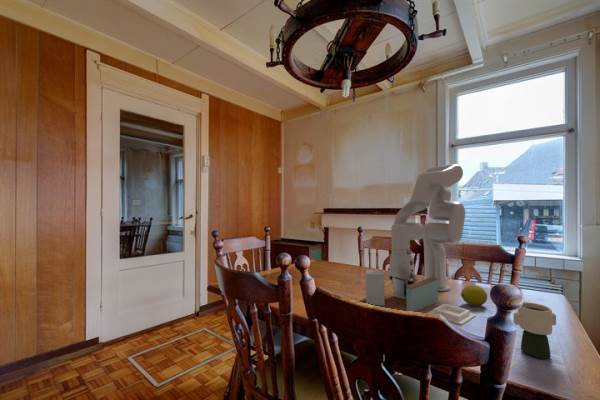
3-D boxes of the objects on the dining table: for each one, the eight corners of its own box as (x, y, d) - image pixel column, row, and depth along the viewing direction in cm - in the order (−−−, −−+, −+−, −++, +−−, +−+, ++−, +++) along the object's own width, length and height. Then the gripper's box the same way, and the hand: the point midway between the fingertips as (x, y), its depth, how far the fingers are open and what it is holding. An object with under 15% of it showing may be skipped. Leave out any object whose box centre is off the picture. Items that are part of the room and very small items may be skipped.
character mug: (545, 347, 78) (544, 302, 78) (568, 362, 71) (567, 311, 71) (505, 346, 79) (504, 301, 79) (524, 361, 72) (523, 311, 72)
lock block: (400, 293, 124) (399, 276, 124) (410, 296, 120) (410, 278, 120) (393, 296, 121) (393, 278, 121) (403, 299, 117) (403, 280, 117)
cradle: (442, 306, 110) (442, 301, 110) (476, 316, 100) (476, 310, 100) (427, 314, 102) (427, 308, 102) (461, 325, 93) (461, 319, 93)
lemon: (479, 301, 115) (479, 282, 115) (493, 308, 107) (493, 288, 107) (454, 302, 114) (454, 283, 114) (467, 309, 106) (466, 288, 107)
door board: (432, 300, 117) (432, 277, 117) (438, 301, 115) (437, 278, 115) (406, 311, 105) (406, 286, 105) (411, 313, 103) (411, 287, 103)
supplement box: (385, 305, 111) (384, 274, 111) (366, 304, 112) (365, 273, 113) (383, 299, 118) (382, 270, 118) (365, 298, 120) (365, 269, 120)
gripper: (424, 253, 116) (425, 296, 116) (389, 248, 129) (390, 287, 129) (414, 256, 111) (415, 301, 111) (379, 250, 125) (380, 290, 125)
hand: (401, 293), depth 120 cm, fingers closed on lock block, 5 cm apart
